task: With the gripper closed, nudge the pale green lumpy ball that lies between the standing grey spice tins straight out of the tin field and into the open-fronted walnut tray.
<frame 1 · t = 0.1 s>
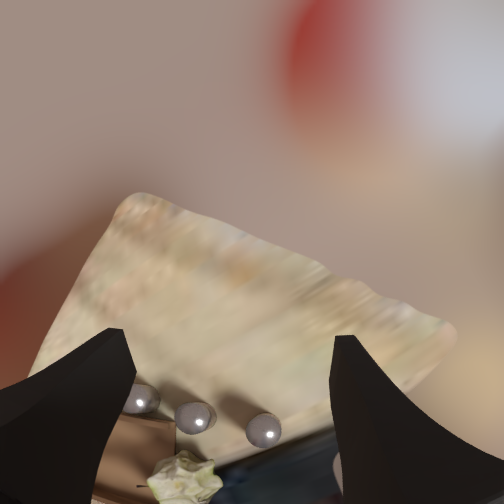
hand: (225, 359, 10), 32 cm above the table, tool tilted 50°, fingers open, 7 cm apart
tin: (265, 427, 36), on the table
pale green lumpy ball: (188, 475, 33), on the table, touching tray
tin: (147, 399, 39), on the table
tray: (132, 460, 34), on the table
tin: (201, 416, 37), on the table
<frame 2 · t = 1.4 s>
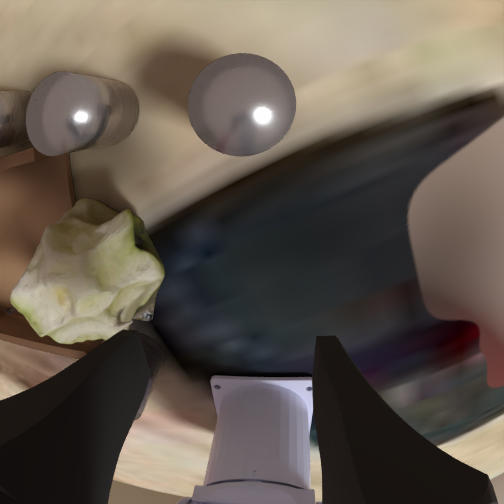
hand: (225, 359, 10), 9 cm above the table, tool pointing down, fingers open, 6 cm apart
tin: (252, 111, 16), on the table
pale green lumpy ball: (107, 254, 19), on the table, touching tray
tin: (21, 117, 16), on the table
tray: (25, 247, 20), on the table
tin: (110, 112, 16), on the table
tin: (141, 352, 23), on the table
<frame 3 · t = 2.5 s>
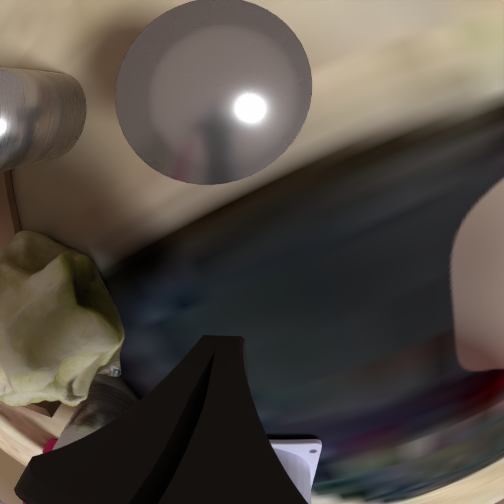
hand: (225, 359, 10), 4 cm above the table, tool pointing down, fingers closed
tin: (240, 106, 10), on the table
pale green lumpy ball: (61, 297, 14), on the table, touching tray
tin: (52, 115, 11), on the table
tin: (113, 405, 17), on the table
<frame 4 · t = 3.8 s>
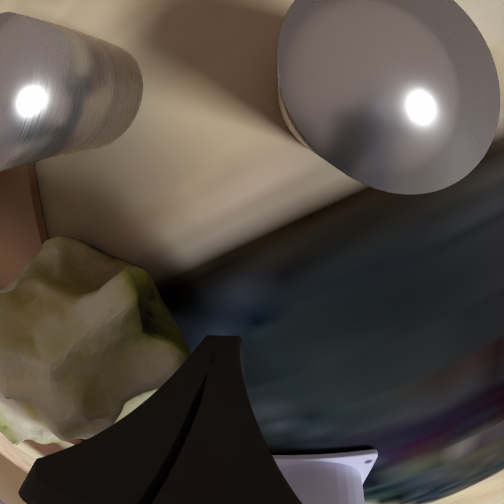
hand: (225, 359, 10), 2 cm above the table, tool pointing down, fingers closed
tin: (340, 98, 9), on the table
pale green lumpy ball: (99, 315, 13), on the table, touching gripper, tray
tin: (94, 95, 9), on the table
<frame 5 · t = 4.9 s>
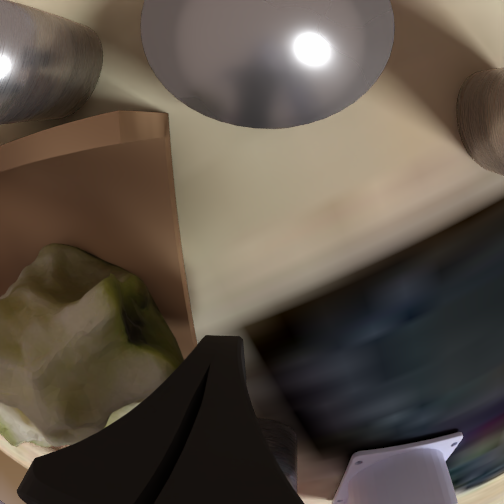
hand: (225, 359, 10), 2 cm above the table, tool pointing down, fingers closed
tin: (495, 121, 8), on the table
pale green lumpy ball: (100, 321, 13), resting on tray, touching gripper
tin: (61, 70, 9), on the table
tray: (63, 300, 13), on the table
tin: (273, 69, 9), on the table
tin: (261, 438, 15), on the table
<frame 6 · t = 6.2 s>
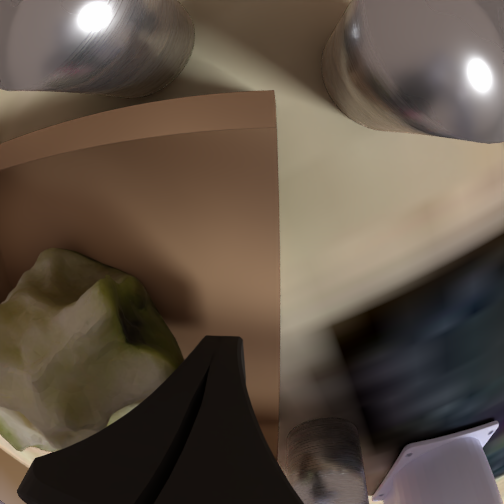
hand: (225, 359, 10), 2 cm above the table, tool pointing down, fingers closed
pale green lumpy ball: (102, 324, 13), resting on tray, touching gripper
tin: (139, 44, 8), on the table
tray: (123, 303, 12), on the table
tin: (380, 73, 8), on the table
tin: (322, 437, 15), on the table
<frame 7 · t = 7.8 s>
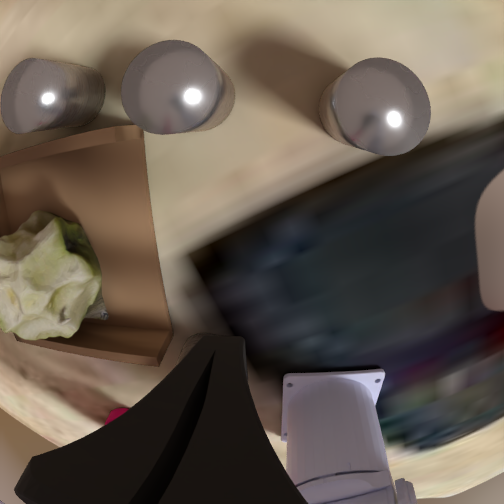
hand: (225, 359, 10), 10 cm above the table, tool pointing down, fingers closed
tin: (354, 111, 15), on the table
pale green lumpy ball: (65, 259, 20), resting on tray
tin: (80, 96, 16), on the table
tray: (76, 243, 20), on the table
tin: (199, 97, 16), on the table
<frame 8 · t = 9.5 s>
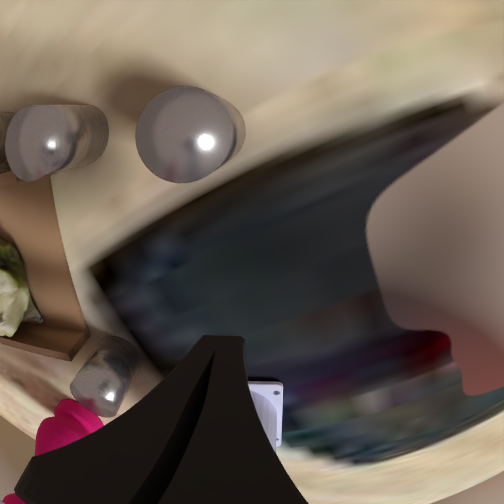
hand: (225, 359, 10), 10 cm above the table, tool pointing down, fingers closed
pepper mill: (82, 415, 29), on the table
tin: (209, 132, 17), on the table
pale green lumpy ball: (10, 272, 22), resting on tray
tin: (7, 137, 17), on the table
tray: (14, 256, 21), on the table
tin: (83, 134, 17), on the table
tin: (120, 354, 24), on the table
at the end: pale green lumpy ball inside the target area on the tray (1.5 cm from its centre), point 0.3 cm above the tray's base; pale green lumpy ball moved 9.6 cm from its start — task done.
